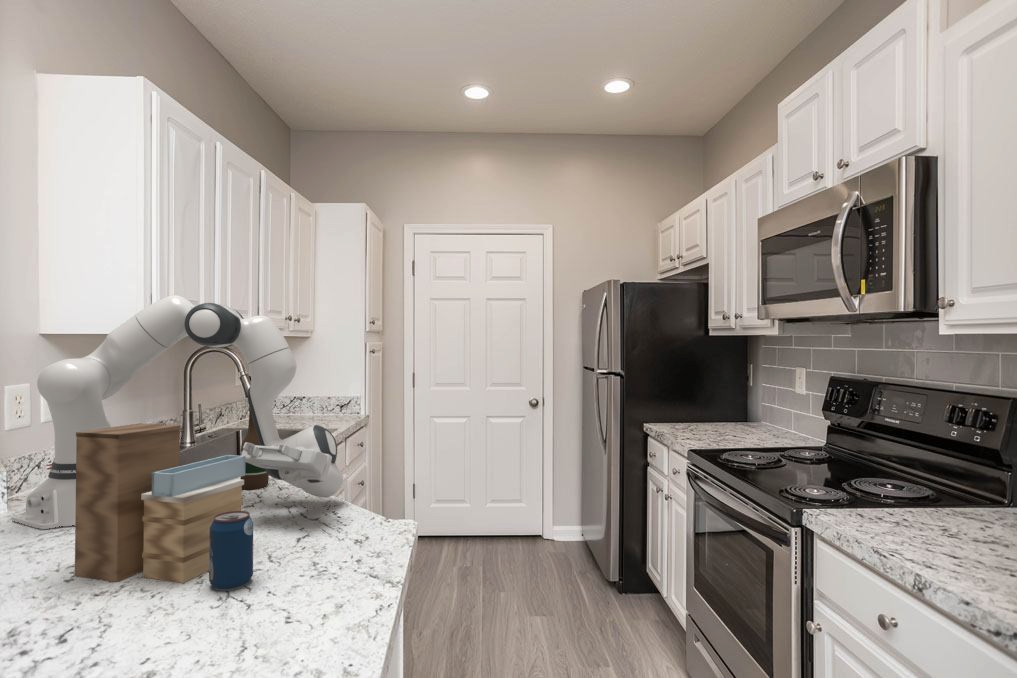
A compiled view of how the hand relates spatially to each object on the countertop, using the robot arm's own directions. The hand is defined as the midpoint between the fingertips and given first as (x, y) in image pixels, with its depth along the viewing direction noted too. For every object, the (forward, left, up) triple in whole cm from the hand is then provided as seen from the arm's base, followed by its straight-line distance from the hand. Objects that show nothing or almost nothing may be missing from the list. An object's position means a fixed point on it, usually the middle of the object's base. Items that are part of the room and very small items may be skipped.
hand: (263, 447), depth 127 cm
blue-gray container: (0, -17, -4) cm, 18 cm away
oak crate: (0, -19, -19) cm, 27 cm away
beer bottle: (-33, +36, -20) cm, 53 cm away
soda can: (+13, -24, -20) cm, 34 cm away
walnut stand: (-12, -23, -19) cm, 32 cm away
